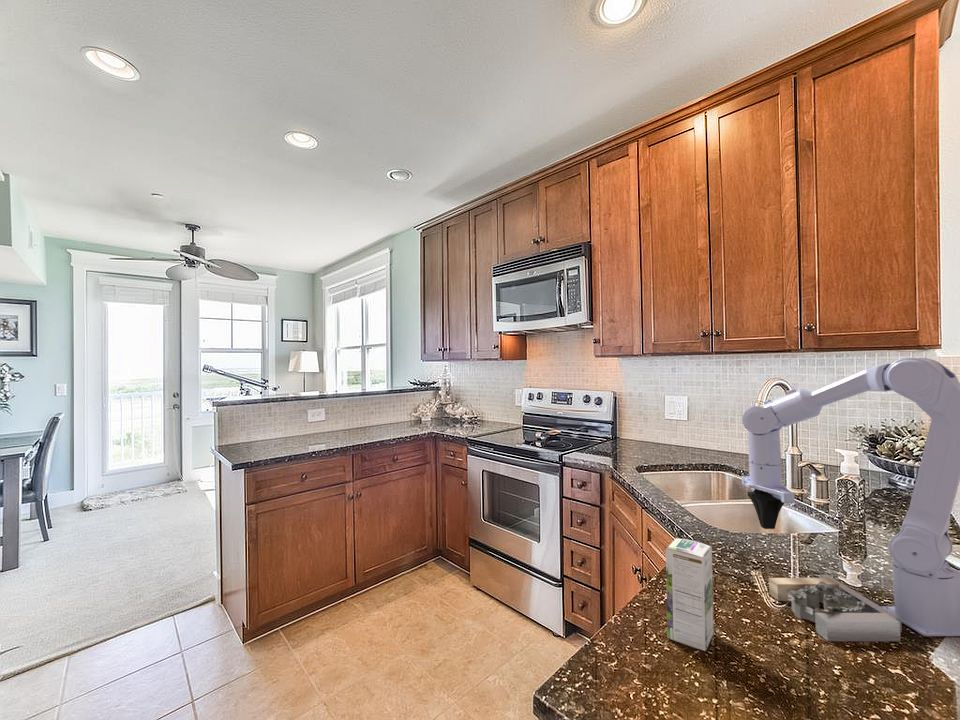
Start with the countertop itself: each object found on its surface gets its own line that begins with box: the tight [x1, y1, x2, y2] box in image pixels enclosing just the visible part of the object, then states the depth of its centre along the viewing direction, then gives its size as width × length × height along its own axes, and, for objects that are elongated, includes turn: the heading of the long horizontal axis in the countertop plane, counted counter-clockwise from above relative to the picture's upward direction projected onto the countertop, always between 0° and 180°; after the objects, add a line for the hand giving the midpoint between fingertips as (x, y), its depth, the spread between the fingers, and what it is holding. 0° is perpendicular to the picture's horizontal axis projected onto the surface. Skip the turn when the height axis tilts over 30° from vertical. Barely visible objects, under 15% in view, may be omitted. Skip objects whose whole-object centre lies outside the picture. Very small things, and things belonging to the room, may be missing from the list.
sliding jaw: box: [768, 577, 839, 602], centre depth 80 cm, size 11×2×3 cm, turn 88°
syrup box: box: [665, 537, 715, 652], centre depth 69 cm, size 6×6×14 cm
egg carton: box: [787, 581, 865, 623], centre depth 74 cm, size 11×8×4 cm
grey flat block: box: [814, 574, 903, 642], centre depth 76 cm, size 14×18×3 cm
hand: (767, 527), depth 90 cm, fingers closed
